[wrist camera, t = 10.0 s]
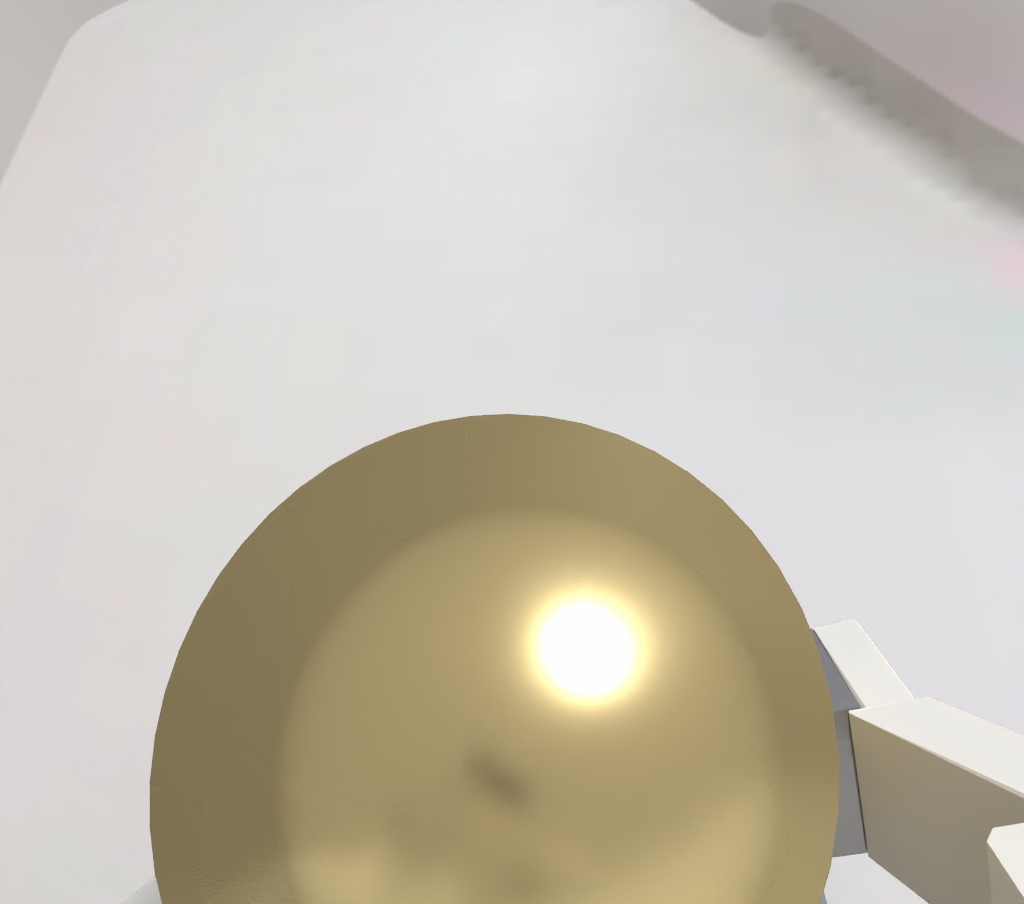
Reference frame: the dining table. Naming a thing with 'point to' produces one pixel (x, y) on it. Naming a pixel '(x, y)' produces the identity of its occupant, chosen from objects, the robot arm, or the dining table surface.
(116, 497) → the dining table surface
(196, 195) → the dining table surface
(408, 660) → the gold rounded cylinder
